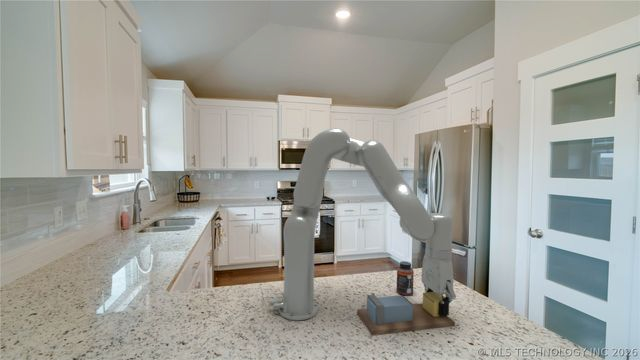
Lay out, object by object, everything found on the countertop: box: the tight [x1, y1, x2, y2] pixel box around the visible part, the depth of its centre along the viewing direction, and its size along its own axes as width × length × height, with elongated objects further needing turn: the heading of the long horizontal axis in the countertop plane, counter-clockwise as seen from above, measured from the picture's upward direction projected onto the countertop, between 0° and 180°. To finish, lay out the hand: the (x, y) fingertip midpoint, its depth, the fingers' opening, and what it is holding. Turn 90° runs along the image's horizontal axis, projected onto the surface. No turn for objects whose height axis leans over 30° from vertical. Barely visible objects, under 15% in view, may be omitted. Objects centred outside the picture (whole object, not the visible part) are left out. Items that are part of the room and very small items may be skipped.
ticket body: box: [366, 294, 414, 326], centre depth 81 cm, size 12×8×6 cm, turn 102°
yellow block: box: [422, 291, 446, 317], centre depth 85 cm, size 5×6×5 cm
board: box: [356, 302, 456, 336], centre depth 83 cm, size 26×12×1 cm, turn 102°
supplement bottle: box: [396, 260, 415, 296], centre depth 101 cm, size 6×6×11 cm
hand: (436, 309), depth 85 cm, fingers closed on yellow block, 5 cm apart
